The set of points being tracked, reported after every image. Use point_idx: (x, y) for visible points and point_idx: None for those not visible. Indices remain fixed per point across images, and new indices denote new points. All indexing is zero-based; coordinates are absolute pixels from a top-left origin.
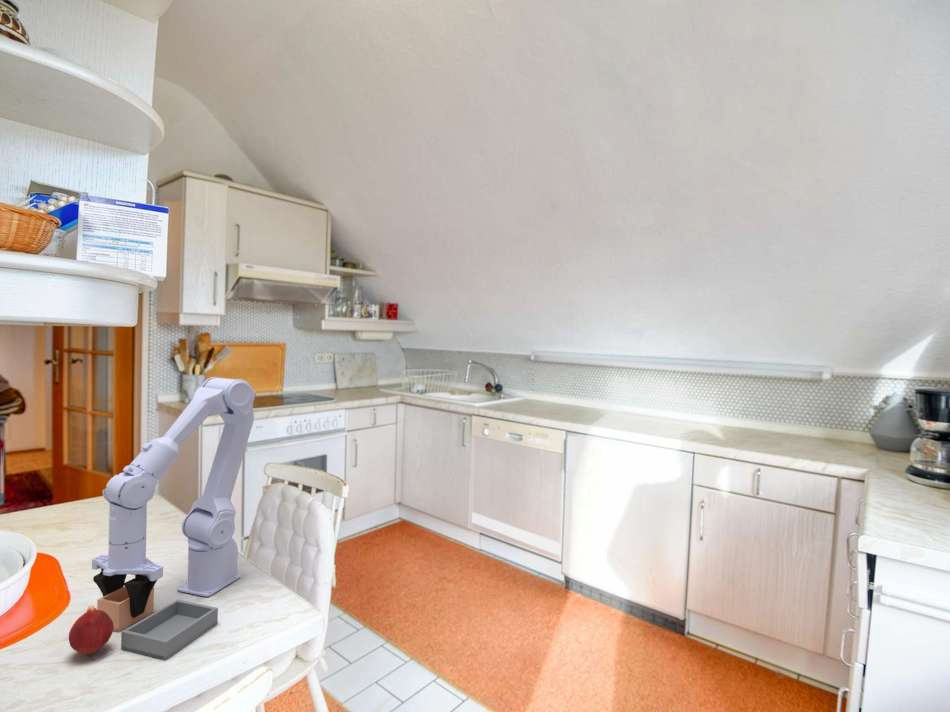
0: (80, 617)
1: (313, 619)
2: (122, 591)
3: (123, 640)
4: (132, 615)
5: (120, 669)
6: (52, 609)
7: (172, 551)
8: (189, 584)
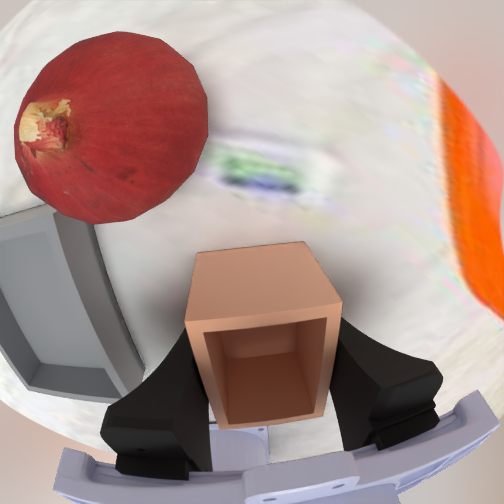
0: (98, 67)
1: None
2: (314, 378)
3: None
4: None
5: (10, 141)
6: (479, 247)
7: None
8: (233, 440)
